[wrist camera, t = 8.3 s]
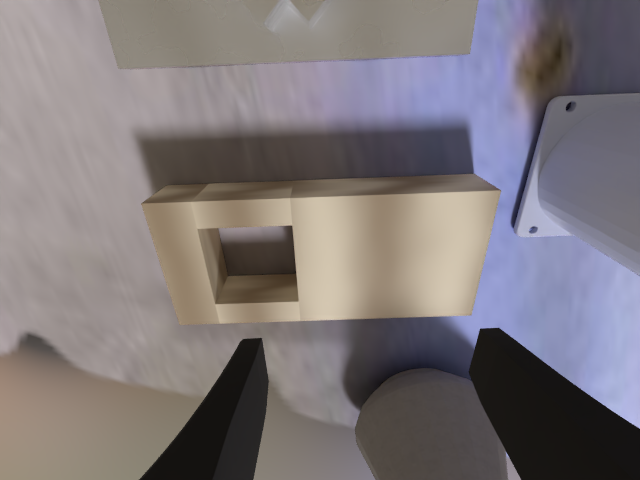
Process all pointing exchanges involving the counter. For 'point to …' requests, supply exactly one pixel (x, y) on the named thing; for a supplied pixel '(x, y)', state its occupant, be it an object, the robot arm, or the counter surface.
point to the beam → (328, 247)
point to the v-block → (283, 31)
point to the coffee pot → (429, 430)
